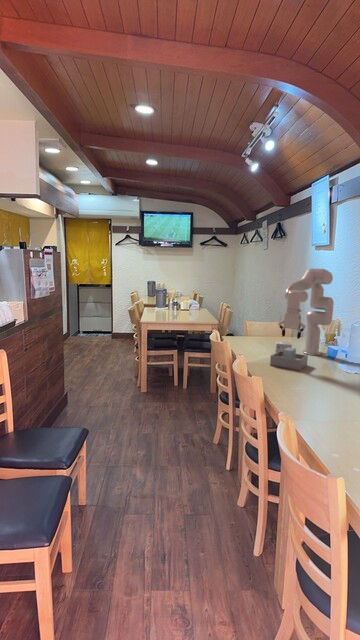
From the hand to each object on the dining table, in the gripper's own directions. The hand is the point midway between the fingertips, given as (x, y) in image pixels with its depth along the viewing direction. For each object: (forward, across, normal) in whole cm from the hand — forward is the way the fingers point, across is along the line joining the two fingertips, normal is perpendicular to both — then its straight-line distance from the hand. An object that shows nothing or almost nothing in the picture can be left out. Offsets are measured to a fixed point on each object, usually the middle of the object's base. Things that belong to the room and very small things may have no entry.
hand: (291, 337), depth 238 cm
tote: (+18, 0, +1) cm, 18 cm away
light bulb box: (+19, +10, -15) cm, 26 cm away
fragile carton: (+15, 0, +1) cm, 15 cm away
